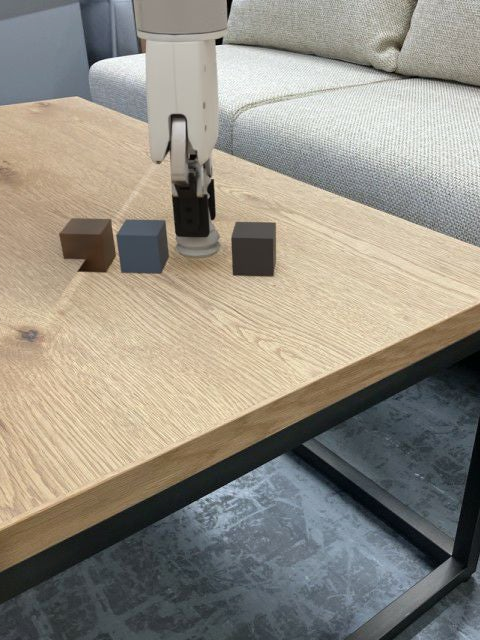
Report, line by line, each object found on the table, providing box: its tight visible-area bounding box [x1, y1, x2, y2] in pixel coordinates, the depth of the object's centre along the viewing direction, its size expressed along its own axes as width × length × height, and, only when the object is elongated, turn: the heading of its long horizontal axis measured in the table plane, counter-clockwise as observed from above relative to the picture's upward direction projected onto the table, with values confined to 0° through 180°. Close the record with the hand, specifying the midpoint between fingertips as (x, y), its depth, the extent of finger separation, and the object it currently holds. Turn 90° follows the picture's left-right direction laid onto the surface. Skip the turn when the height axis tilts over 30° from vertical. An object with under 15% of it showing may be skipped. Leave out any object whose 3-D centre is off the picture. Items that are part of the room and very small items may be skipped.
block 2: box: [115, 218, 170, 275], centre depth 69 cm, size 4×4×4 cm
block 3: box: [230, 221, 277, 277], centre depth 69 cm, size 4×4×4 cm
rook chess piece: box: [175, 169, 222, 260], centre depth 67 cm, size 4×4×8 cm
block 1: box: [58, 217, 117, 273], centre depth 69 cm, size 4×4×4 cm
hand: (196, 225), depth 68 cm, fingers closed on rook chess piece, 3 cm apart
